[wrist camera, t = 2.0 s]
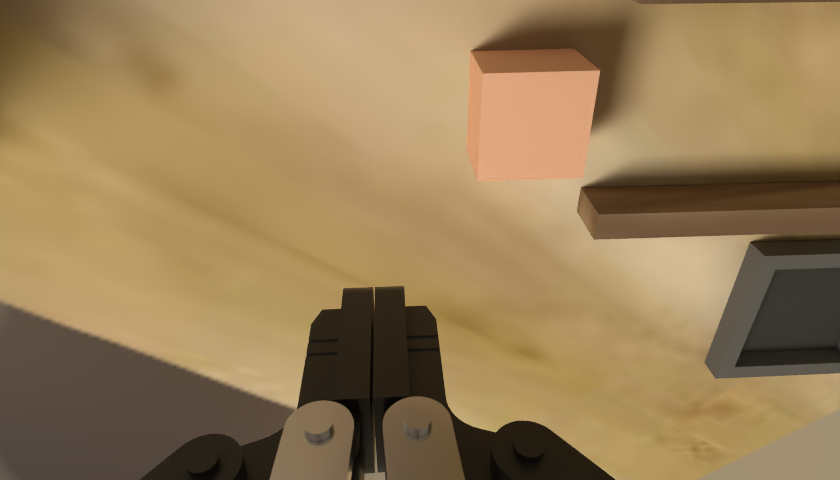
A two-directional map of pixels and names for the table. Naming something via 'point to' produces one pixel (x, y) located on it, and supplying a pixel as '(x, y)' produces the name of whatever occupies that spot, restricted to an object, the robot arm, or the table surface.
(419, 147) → the table surface
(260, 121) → the table surface
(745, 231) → the wooden bars
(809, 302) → the dark gray tray
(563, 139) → the terracotta block
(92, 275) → the table surface
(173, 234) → the table surface
